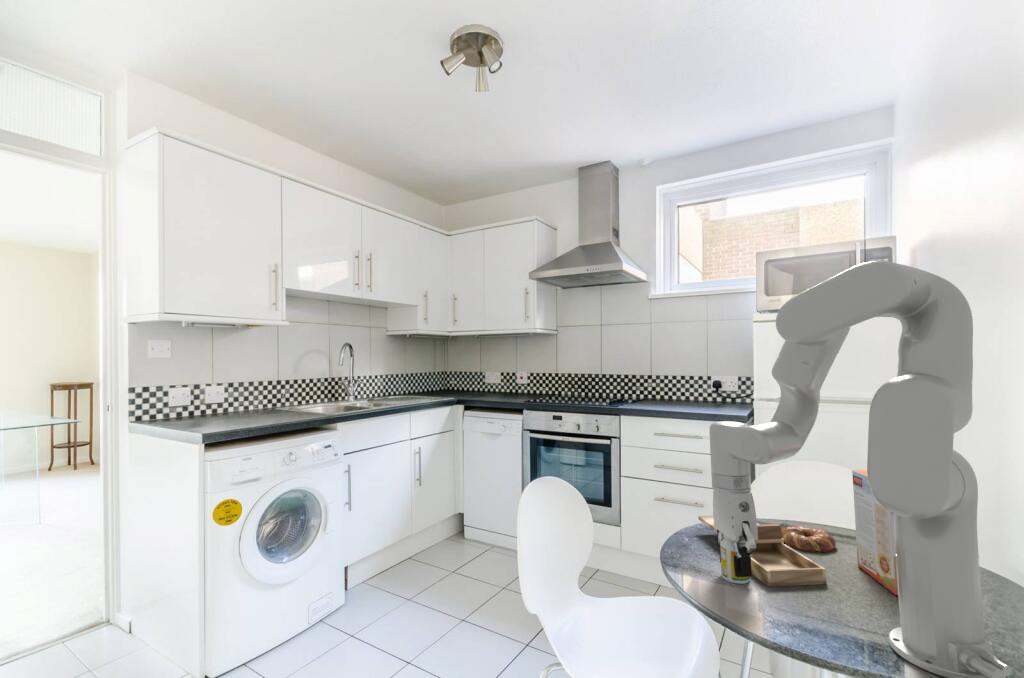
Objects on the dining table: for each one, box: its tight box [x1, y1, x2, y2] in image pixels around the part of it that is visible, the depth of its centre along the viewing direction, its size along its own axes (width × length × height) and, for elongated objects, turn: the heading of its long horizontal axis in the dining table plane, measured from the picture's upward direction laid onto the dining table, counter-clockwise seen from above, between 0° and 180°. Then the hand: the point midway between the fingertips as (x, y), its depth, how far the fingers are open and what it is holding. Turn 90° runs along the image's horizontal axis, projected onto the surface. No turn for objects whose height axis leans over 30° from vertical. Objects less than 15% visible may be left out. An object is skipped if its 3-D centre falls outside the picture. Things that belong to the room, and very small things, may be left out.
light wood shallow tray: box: [751, 542, 827, 588], centre depth 104 cm, size 18×12×3 cm, turn 3°
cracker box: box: [852, 469, 898, 596], centre depth 96 cm, size 14×6×21 cm, turn 168°
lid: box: [697, 515, 784, 544], centre depth 117 cm, size 18×12×4 cm, turn 3°
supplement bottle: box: [720, 535, 751, 585], centre depth 98 cm, size 5×5×10 cm
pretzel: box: [781, 525, 837, 553], centre depth 116 cm, size 12×11×4 cm
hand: (735, 568), depth 98 cm, fingers closed on supplement bottle, 5 cm apart
